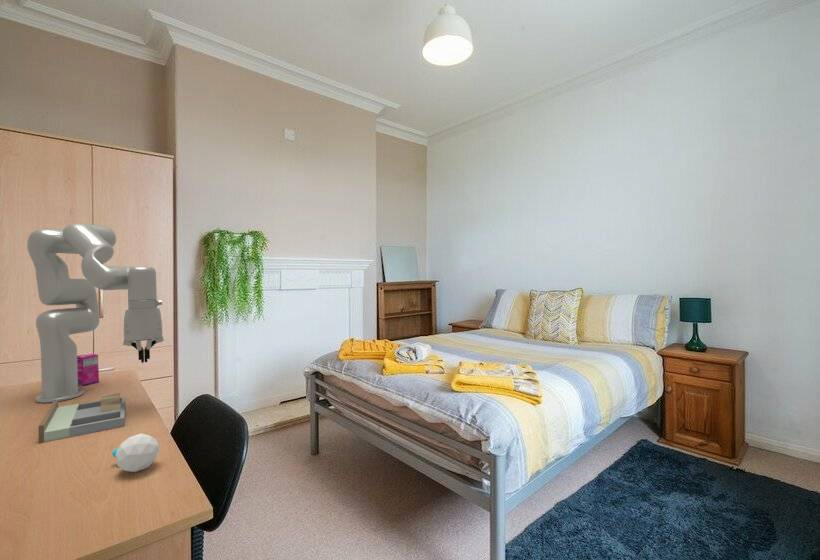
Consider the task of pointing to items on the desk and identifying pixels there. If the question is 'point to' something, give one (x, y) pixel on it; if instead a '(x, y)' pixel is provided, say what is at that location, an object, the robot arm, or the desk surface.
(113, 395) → the maple block
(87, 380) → the supplement box
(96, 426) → the board
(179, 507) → the desk surface
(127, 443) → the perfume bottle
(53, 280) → the robot arm
